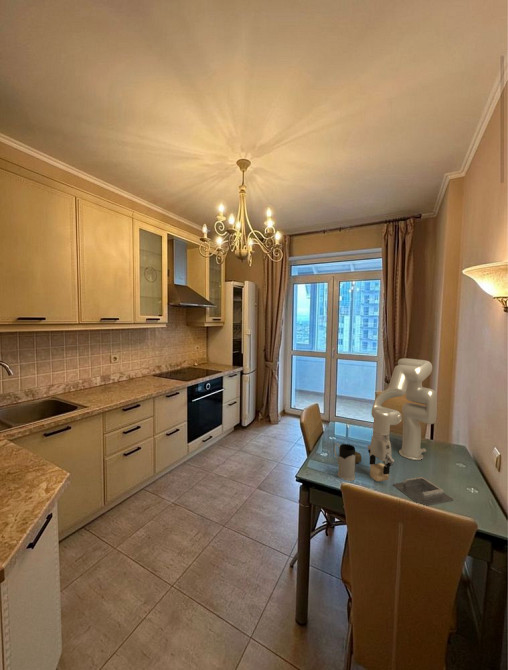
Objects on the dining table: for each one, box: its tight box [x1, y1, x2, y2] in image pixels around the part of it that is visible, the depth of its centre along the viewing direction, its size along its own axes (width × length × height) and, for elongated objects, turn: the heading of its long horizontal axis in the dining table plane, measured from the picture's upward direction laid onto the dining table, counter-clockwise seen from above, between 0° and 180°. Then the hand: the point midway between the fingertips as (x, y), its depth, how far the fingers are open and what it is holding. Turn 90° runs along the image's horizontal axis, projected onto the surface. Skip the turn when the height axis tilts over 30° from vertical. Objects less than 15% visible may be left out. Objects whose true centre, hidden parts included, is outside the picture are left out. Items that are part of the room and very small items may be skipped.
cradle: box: [392, 476, 454, 507], centre depth 125 cm, size 18×16×4 cm
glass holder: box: [333, 442, 356, 482], centre depth 139 cm, size 9×14×15 cm, turn 24°
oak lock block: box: [369, 462, 390, 482], centre depth 136 cm, size 7×5×6 cm
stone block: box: [355, 450, 362, 464], centre depth 155 cm, size 6×12×5 cm, turn 39°
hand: (379, 468), depth 136 cm, fingers open, 9 cm apart
